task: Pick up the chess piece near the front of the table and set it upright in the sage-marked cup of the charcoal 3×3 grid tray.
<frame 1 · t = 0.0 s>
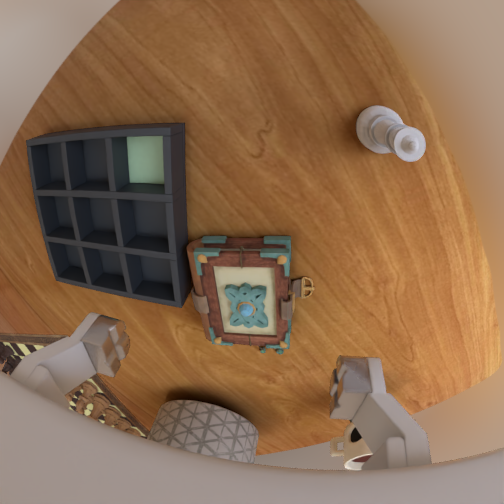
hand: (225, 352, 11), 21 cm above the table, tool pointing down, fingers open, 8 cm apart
planter: (211, 413, 52), on the table
grid: (110, 208, 33), on the table
character mug: (364, 389, 42), on the table
decorative book: (257, 299, 36), on the table
chess piece: (377, 128, 25), on the table
chessboard: (67, 395, 64), on the table
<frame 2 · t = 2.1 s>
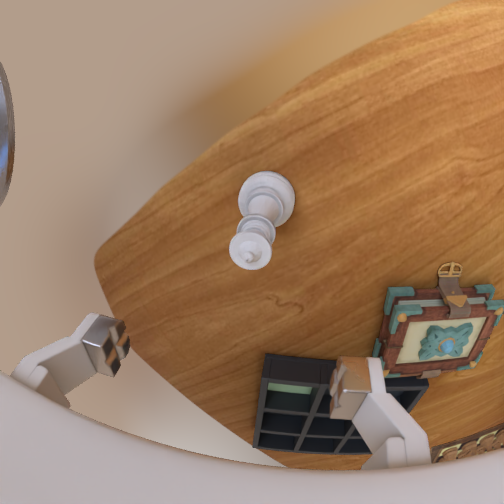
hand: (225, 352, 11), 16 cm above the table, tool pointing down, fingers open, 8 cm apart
grid: (330, 405, 37), on the table
decorative book: (451, 312, 27), on the table
chess piece: (268, 195, 25), on the table
chessboard: (489, 454, 47), on the table
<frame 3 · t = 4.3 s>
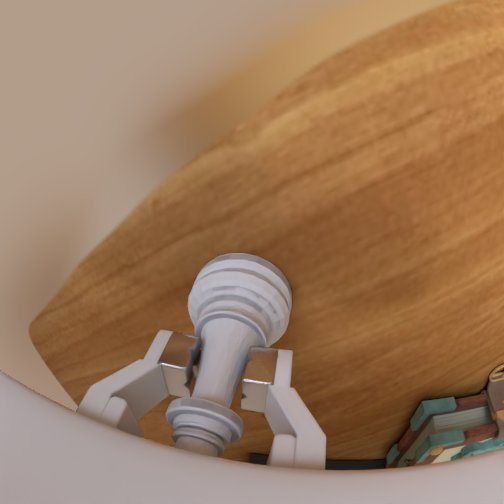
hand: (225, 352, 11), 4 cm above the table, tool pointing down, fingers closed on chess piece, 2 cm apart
grid: (330, 487, 26), on the table
decorative book: (491, 407, 17), on the table
chess piece: (244, 291, 14), on the table, touching gripper
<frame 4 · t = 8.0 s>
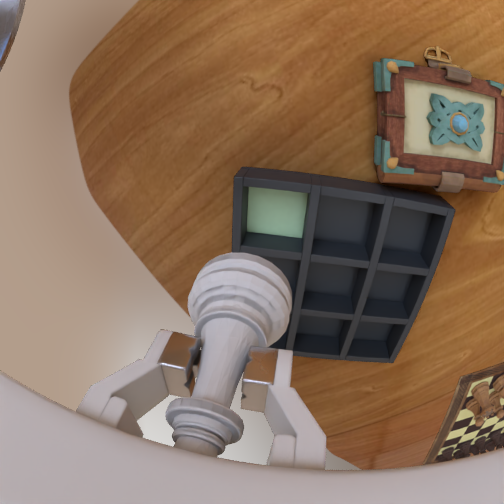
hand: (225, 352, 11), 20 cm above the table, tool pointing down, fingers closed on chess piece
grid: (331, 269, 31), on the table
decorative book: (456, 116, 21), on the table
chess piece: (244, 290, 14), point 16 cm above the table, touching gripper
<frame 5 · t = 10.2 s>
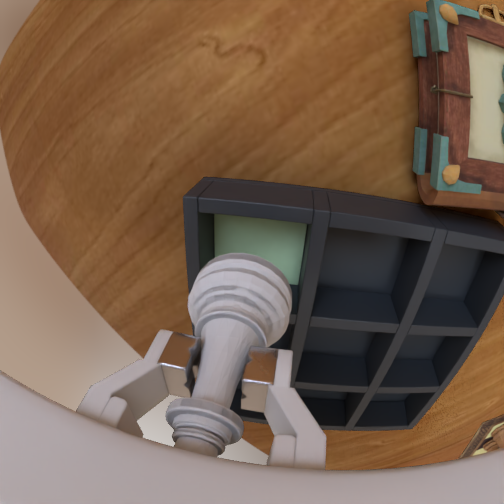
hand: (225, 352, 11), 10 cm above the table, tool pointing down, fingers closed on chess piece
grid: (339, 324, 21), on the table
chess piece: (244, 290, 14), point 6 cm above the table, touching gripper
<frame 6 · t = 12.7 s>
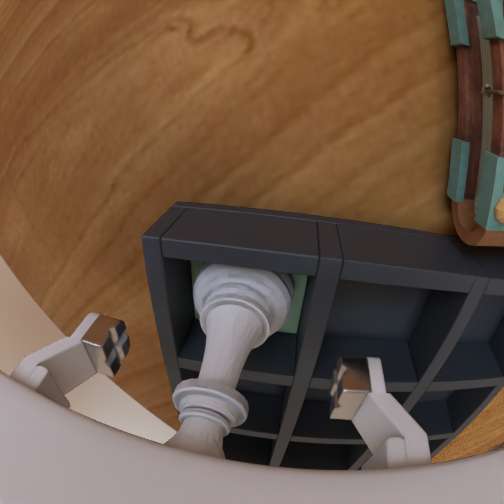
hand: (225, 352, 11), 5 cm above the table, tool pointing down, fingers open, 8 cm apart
grid: (345, 370, 17), on the table
chess piece: (247, 281, 14), point 1 cm above the table, touching grid
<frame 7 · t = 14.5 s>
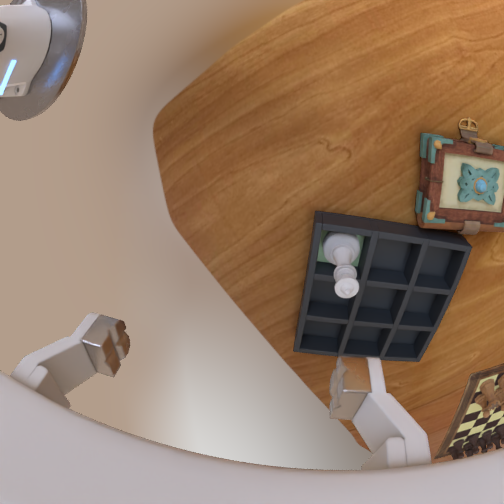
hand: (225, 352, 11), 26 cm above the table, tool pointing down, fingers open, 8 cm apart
grid: (376, 289, 38), on the table
decorative book: (477, 173, 28), on the table
chess piece: (340, 243, 35), point 1 cm above the table, touching grid
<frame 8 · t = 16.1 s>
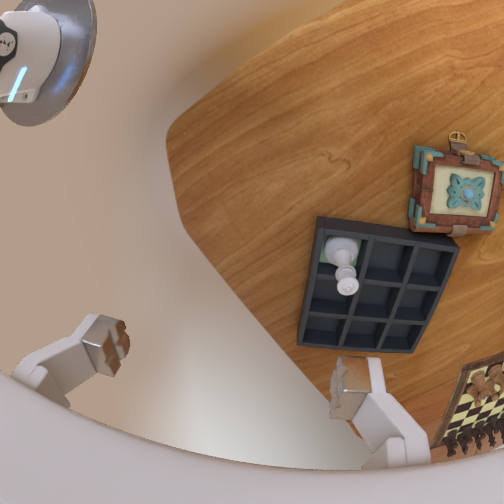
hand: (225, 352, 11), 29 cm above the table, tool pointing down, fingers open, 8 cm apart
grid: (372, 287, 42), on the table
decorative book: (465, 181, 32), on the table
chess piece: (340, 245, 39), point 1 cm above the table, touching grid
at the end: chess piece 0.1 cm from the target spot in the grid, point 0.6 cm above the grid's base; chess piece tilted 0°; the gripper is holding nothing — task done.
